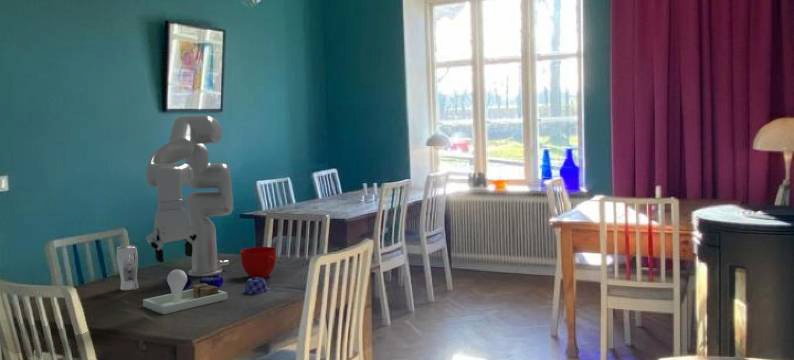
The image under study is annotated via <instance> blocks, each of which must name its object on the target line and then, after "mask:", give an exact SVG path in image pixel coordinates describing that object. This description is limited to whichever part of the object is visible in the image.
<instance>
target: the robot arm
mask: <svg viewBox="0 0 794 360" xmlns="http://www.w3.org/2000/svg"><path fill="white" fill-rule="evenodd" d="M170 132H171V133H170V136H169V138H168V142H167V143H165V144H163V145H162V146H161V147H159V148H157V149H156V150H155V151H154V152H153V153H152V154H151V155H150V157H149V159H148V163H147V167H146V173H145V177H146V181H147V184H148V185H149V186H150V187H153V188H156V191H157V192H156V194H157V204H158V205H157V206H158V207H157V208H158V209H157V210H156V211H155V214H154V215H155V216H154V229H153V232H151V233H150V234H148V235H147V236H146V237H145V240H146V241H147V243H148V244H149V246H150V247H151V248H153V249H154V253H155V260H156V261H157V262H158V263H164V250H163V249H162V248H163V247H164V245H165V244H168V243H174V242H179V241H184V242H185V243H184V254H185V256H187V257H190V258H191V269H190V270H188V276H191V277H199V278H200V277H211V276H215V275H219V274H222V272H223V268H222V267H223V266H228V265H229V264H230V261H229V259H224V260H222V259H221V260H220V259H218V249H217V248H218V247H217V231H216V229H217V228H216V226H215V224H214V222H213V221H212V220H211V218H209V217H218V216H219V217H222V216H229V215H231V214H232V212H233V210H234V197H233V187H232V175H231V170H230V167H229V166H228V165H227V164H226V163H223V162H215V163H214V162H213V163H212V162H210V157H209V156H210V155H209V150H208V148H207V146H206V144H218V143H219V142H221V140H222V136H223V128H222V125H221V123H220V122H219V121H218V119H216V118H214V117H213V116H210V115H184V116H180V117H178V118H176V119H175V120H174V122H173V124H172V129H171V131H170ZM183 160H185V162H180V161H183ZM188 185H189V187H190V188H191V189H196V190H197V189H198V190H200V189H201V190H202V189H218V190H212V191H210V190H209V191H194V192H191V193H190V194H188V195H187V196H186V198H185V199H184V197H183V193H184V192H183V187H185V186H188ZM154 240H155V241H156V242H154Z"/></svg>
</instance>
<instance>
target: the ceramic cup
mask: <svg viewBox="0 0 794 360" xmlns="http://www.w3.org/2000/svg"><path fill="white" fill-rule="evenodd" d="M276 257H277V250H276V248H275V247H272V246H271V247H270V246H259V247H258V246H256V247H249V248H244V249H241V250H240V260H241V265H242V267H243V269H244V272H245V273H246V274H247V275H248V276H249V277H250V278H259V277H260V278H264V279H265V278H267V277H269V275H270V274H271V273H272V271H273V270H274V268H275V264H276Z"/></svg>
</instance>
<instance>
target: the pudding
mask: <svg viewBox="0 0 794 360" xmlns="http://www.w3.org/2000/svg"><path fill="white" fill-rule="evenodd" d="M269 289H270V290H272V288H270V287H268V286H267V283H266V280H265V278H260V277H259V278H251V277H250V278H248V279H247V280H246V283H245V287H244V293H246V294H248V295H249V294H250V295H257V294H259V295H261V294H264V293H266V292H268V290H269Z"/></svg>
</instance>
